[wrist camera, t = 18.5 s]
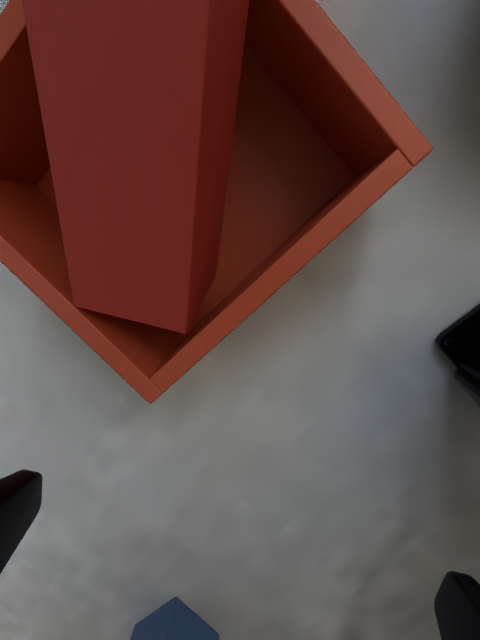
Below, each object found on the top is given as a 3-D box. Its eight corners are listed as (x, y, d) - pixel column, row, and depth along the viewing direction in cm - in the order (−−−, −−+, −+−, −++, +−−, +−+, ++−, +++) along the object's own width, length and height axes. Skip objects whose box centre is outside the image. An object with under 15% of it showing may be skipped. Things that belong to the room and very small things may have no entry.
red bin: (197, -38, 16) (147, -211, 10) (376, 177, 17) (434, 148, 11) (22, 186, 19) (-101, 166, 13) (187, 351, 21) (149, 405, 14)
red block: (185, 334, 13) (228, -257, 6) (73, 306, 14) (-30, -289, 6) (216, 277, 17) (266, -133, 9) (126, 256, 17) (103, -157, 10)
